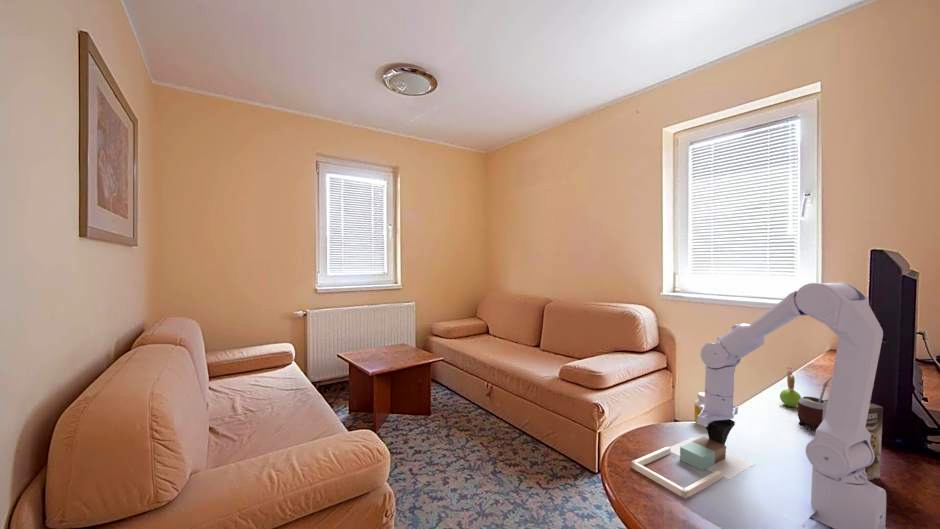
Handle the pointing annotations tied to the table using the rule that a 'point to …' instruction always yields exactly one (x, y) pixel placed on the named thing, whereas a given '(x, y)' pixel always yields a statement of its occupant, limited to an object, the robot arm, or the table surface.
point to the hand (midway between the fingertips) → (716, 448)
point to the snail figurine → (790, 392)
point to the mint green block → (697, 455)
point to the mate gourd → (812, 409)
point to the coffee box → (876, 436)
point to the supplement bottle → (699, 402)
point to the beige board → (720, 462)
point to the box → (667, 483)
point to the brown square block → (713, 447)
